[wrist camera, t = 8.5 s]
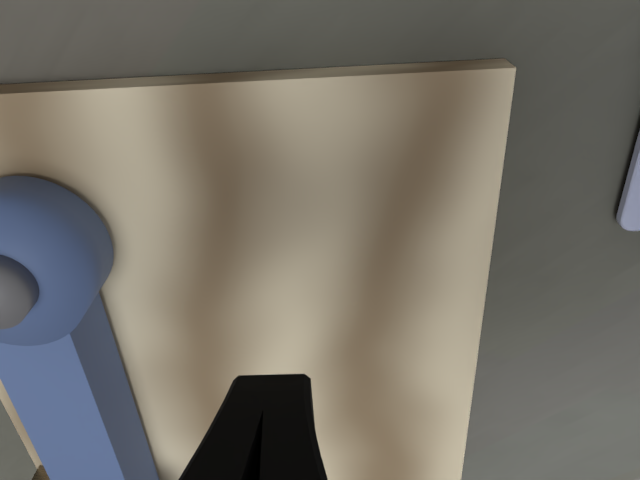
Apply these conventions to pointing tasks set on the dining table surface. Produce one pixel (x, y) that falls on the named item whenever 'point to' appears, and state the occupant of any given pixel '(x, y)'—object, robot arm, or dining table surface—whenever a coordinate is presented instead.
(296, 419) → the robot arm
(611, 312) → the dining table surface
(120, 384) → the link
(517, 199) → the dining table surface
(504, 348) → the dining table surface
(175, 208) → the board
